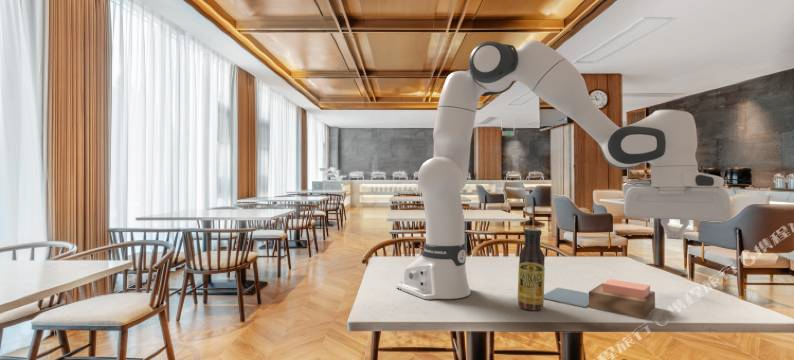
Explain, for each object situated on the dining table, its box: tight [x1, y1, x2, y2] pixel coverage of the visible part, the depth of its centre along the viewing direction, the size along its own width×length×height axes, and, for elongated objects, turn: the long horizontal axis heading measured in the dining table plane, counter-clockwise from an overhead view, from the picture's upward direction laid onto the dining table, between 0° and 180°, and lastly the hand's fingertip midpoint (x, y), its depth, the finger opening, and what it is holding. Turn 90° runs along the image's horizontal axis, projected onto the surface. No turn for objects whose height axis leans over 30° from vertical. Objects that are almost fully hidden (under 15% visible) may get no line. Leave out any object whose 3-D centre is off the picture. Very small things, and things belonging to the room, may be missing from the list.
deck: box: [588, 282, 656, 320], centre depth 96 cm, size 12×11×4 cm
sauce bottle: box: [517, 228, 546, 311], centre depth 96 cm, size 6×6×20 cm
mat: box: [544, 287, 589, 309], centre depth 104 cm, size 12×13×1 cm
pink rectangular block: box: [602, 278, 651, 299], centre depth 95 cm, size 9×6×2 cm, turn 46°
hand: (674, 238), depth 88 cm, fingers closed
